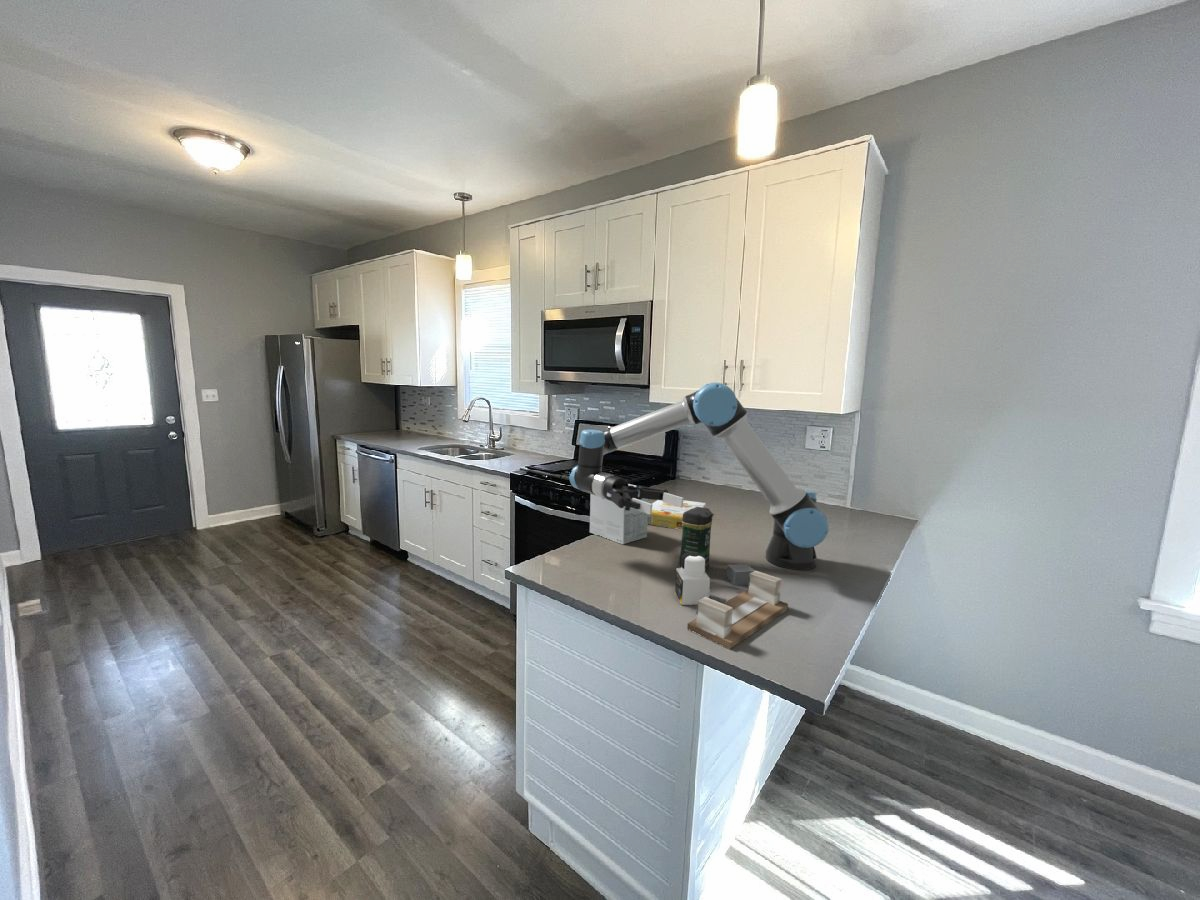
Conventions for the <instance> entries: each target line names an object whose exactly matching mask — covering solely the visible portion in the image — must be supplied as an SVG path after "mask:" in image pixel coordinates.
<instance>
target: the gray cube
mask: <svg viewBox="0 0 1200 900" xmlns="http://www.w3.org/2000/svg"><path fill="white" fill-rule="evenodd" d="M726 568H727V571H726V579H727V578H728V579H727V580H728V581H730V582H731V584H733V586H744V585H748V579H749V576H750V573H752V572H754V571H756V570H755V569H754V568H752V567H751V566H750V565H749V564H747V563H745V564H727V567H726Z"/></svg>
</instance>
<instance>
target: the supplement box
mask: <svg viewBox="0 0 1200 900" xmlns="http://www.w3.org/2000/svg"><path fill="white" fill-rule="evenodd" d="M628 485H632V486H634V487H636V486H637V485H634V484H630V483H628ZM639 496H640V495H638V497H639ZM589 497H590V498H589V499H590V500H589V501H590V503H589V506H590V508H589V509H590V510H589V533H590V534H593V535H596V536H598V535H600V536H599V537H601V536H602V537H601V538H604V539H606V538H607V540H609V539H610V540H609V541H613V542H615V543H618V544H621V545H625V544H629V543H632V542H634V541H638V540H641V539H644V538H648V524H647V521H648V514H646V513H643V512H640V511H638V510H635V509H632V508H631V507H630V510H629V511H627V510H625V506H624V508H619V507H618V506H617V505H616V504H615V503H614V502H612V501H610V500H607V499H605V498H604V499H601V497H599V496H596V495H593V494H590V496H589ZM631 501H632V500H631ZM641 501H644V502H647V503H649V499H644V498H642V499H641Z"/></svg>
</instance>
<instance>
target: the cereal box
mask: <svg viewBox="0 0 1200 900" xmlns="http://www.w3.org/2000/svg"><path fill="white" fill-rule="evenodd" d="M651 504H653V505H652V514H651V515H649V514H648V521H647V525H651V526H655V527H656V526H657V527H661V526H663V527H662V528H666V527H670V528H669V529H672V528H678V529H682V519H683V513H684V512H686V511H688V510H690V509H692V508H695V507H702V508H707V507H706V502H700V501H691V500H683V507H682V508H680V507H677V506H674V505H671V504H668V503H665V502H663V501H662V500H655V501H654V502H652V503H651ZM678 529H677V530H678Z"/></svg>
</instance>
